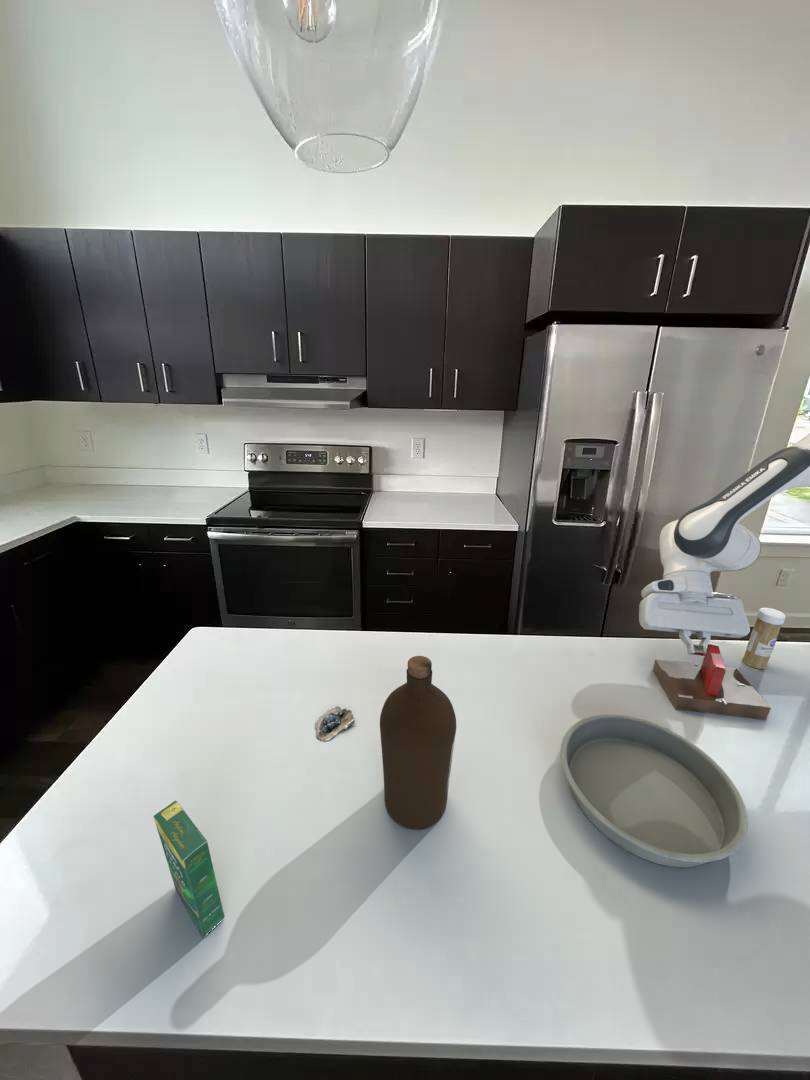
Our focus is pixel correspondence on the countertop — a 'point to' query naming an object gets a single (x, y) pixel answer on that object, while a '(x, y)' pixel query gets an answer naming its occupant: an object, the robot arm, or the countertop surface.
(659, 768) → the cake pan
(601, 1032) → the countertop surface
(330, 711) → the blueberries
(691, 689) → the base
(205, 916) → the coffee box
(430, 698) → the olive oil
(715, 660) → the red block
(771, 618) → the sprinkles bottle
